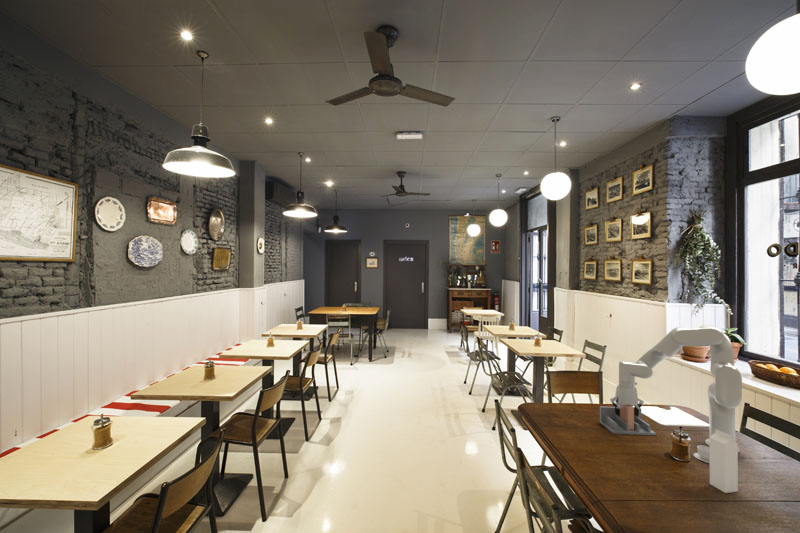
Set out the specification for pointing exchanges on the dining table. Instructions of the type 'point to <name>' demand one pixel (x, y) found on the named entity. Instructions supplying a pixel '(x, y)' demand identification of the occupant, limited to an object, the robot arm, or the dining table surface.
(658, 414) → the tray
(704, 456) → the teacup
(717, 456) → the milk
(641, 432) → the dish rack
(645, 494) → the dining table surface
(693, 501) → the dining table surface
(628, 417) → the plate block
